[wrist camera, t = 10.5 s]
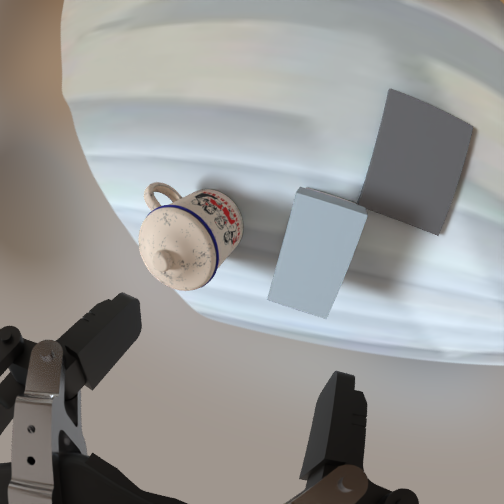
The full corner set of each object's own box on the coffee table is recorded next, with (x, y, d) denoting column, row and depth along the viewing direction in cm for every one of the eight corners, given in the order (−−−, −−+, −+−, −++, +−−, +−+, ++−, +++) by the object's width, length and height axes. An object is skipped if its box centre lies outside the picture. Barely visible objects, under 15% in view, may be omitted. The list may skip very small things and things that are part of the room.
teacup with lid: (261, 232, 34) (224, 280, 24) (209, 268, 38) (164, 318, 28) (198, 152, 32) (136, 167, 22) (154, 197, 36) (92, 227, 26)
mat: (388, 89, 23) (390, 88, 22) (469, 126, 21) (473, 126, 21) (357, 203, 29) (358, 205, 28) (435, 232, 27) (438, 235, 27)
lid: (300, 186, 25) (296, 192, 23) (365, 207, 24) (367, 215, 22) (272, 286, 30) (266, 299, 28) (328, 304, 29) (326, 319, 27)
